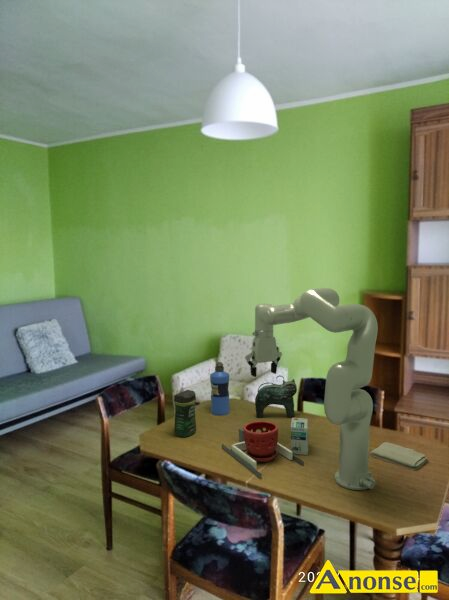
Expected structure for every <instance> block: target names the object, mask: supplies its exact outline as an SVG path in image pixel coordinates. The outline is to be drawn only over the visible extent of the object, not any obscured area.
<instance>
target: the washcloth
mask: <svg viewBox="0 0 449 600" xmlns="http://www.w3.org/2000/svg"><path fill="white" fill-rule="evenodd" d="M369 456H370V457H374V458H376V459H379V460H382V461H385V462H387V463H390V464H394V465H395V466H396V465H397V466H399V467H403V468H406V469H407V470H410V471H416V470H418V469H420V468H421V467H422V466H423V465H425V464H426V463H427V462H428V461H429V459H428V458H429V457H427V456H426V454H424V453H420V452H418V451H416V450H415V449H413V448H407V447H404V446H402V445H398V444H394V443H391V442H387V441H385V442H382V443H381V444H380V445H379V446H378V447H376V448H374V449H372V450H371V451H369ZM426 461H427V462H426ZM425 462H426V463H425ZM424 463H425V464H424ZM421 465H422V466H421Z"/></svg>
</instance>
